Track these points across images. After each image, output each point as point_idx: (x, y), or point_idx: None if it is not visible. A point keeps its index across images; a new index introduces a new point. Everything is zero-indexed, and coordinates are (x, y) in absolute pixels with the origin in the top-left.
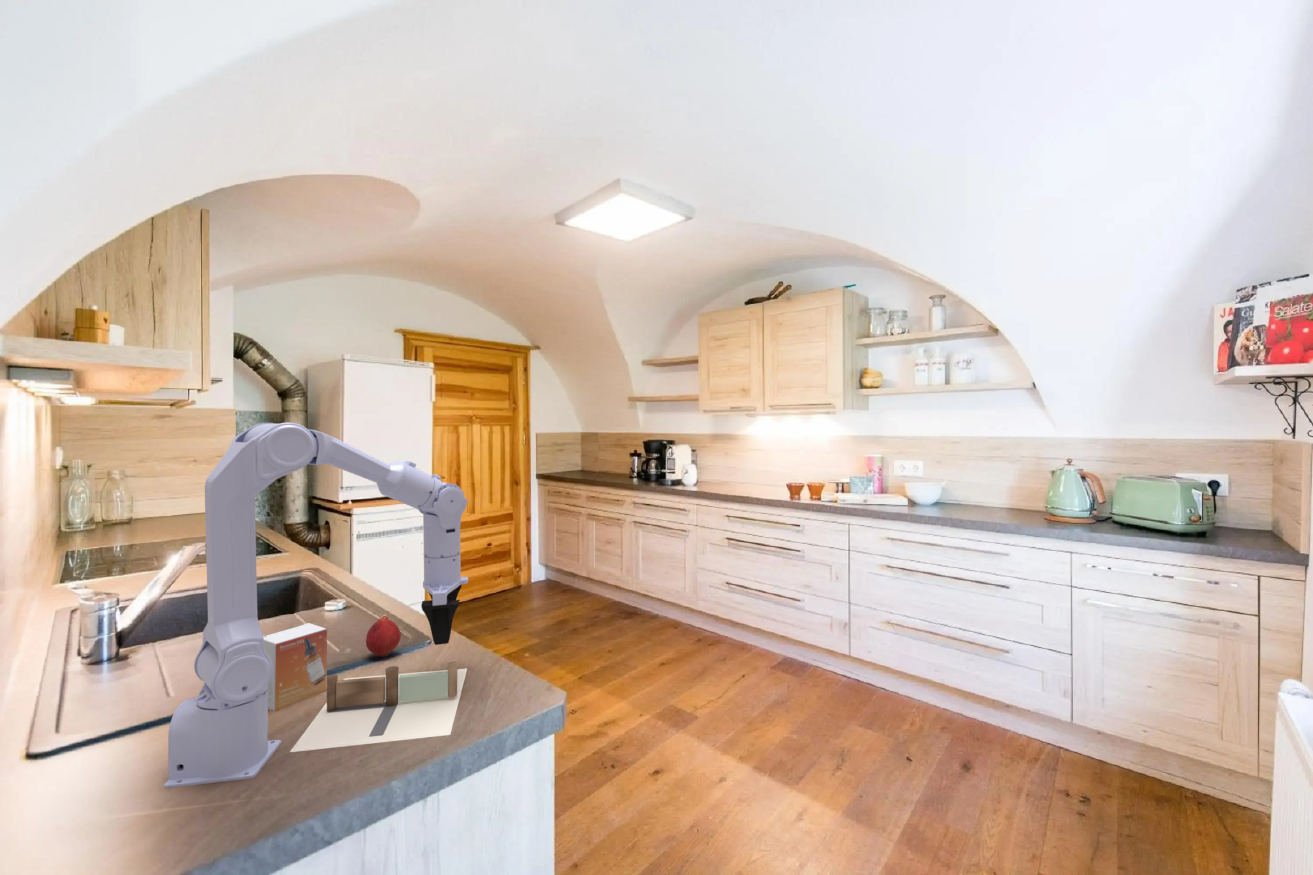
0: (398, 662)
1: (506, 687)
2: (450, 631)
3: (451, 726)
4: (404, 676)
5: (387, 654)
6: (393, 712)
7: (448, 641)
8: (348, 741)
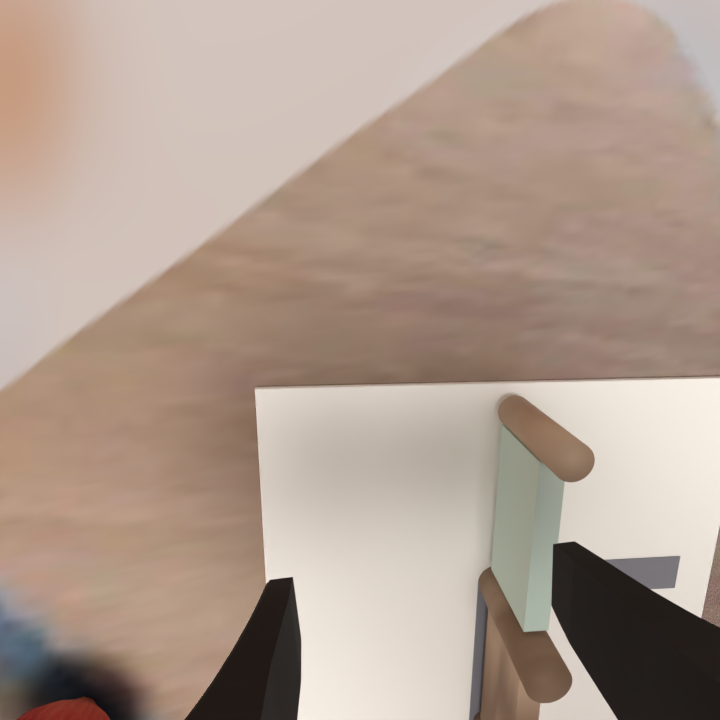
0: (144, 643)
1: (454, 213)
2: (632, 578)
3: (702, 381)
4: (542, 615)
5: (92, 701)
6: None
7: (580, 546)
8: None
